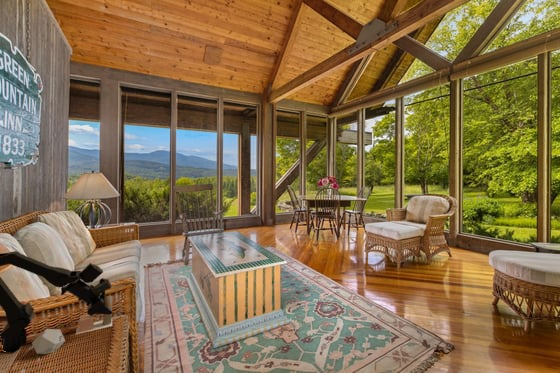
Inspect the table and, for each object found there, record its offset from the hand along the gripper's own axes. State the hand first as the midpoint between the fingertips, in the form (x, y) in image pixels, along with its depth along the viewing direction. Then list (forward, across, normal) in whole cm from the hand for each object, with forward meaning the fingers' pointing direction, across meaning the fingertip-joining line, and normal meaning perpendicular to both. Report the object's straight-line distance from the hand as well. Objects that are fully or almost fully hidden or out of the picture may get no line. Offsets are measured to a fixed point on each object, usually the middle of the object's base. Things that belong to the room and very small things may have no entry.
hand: (111, 309), depth 115 cm
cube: (-2, 0, +10) cm, 11 cm away
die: (-9, -10, +19) cm, 23 cm away
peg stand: (+1, 0, +9) cm, 9 cm away
